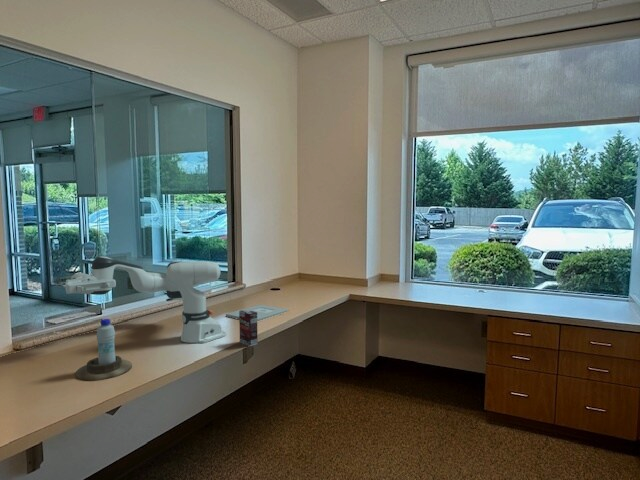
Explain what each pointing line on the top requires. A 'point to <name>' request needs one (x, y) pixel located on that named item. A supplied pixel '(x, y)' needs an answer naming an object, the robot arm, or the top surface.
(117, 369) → the coaster
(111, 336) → the bottle
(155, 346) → the top surface
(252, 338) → the supplement box
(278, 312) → the award plaque
